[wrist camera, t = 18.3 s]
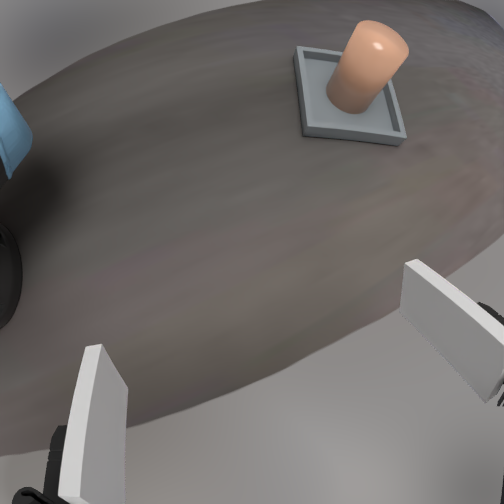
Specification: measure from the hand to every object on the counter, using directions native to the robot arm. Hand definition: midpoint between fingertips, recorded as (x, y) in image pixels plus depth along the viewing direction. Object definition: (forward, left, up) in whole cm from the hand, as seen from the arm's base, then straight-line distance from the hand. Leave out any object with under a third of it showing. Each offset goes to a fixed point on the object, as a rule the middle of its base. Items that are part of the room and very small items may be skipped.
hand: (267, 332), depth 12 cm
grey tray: (+15, +27, -22) cm, 38 cm away
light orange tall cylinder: (+15, +27, -21) cm, 38 cm away
